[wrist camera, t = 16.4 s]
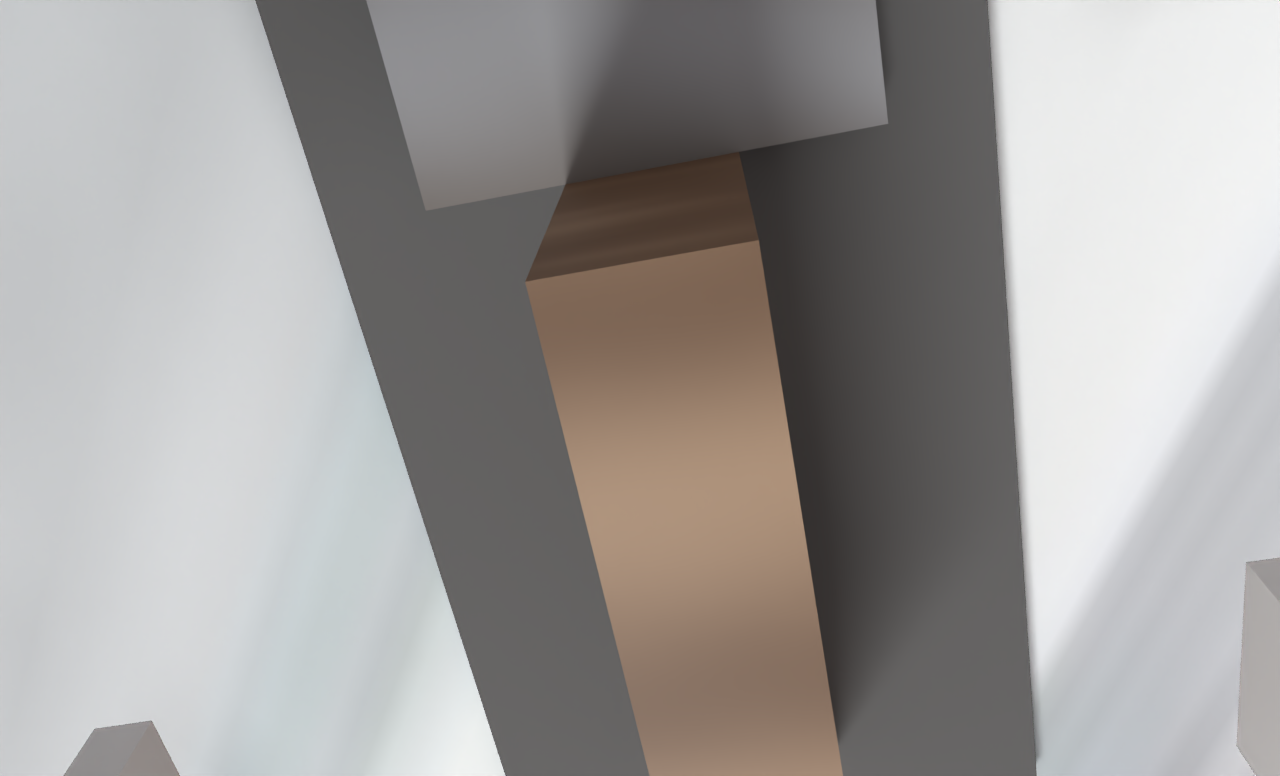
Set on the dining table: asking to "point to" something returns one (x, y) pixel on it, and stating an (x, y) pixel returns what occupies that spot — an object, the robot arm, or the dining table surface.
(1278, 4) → the dining table surface
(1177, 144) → the dining table surface
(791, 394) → the mat
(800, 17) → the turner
